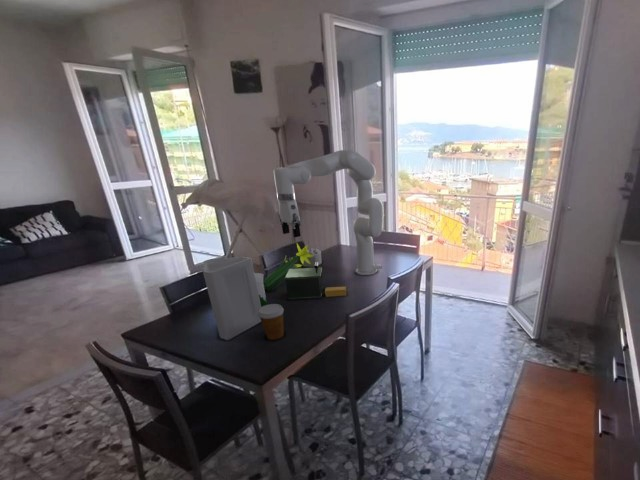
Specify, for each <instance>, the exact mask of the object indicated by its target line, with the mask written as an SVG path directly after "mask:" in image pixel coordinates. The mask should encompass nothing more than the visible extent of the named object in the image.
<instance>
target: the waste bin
mask: <svg viewBox="0 0 640 480" xmlns="http://www.w3.org/2000/svg"><path fill="white" fill-rule="evenodd" d="M284 281H285V287H286V292H287V293H286V294H287V299H288V301H294V300H309V299H313V300H314V299H322V296H323V290H324V284H323V283H324V282H323V275H322V273H321V276H320V277H316V278H298V279H285V280H284Z"/></svg>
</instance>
